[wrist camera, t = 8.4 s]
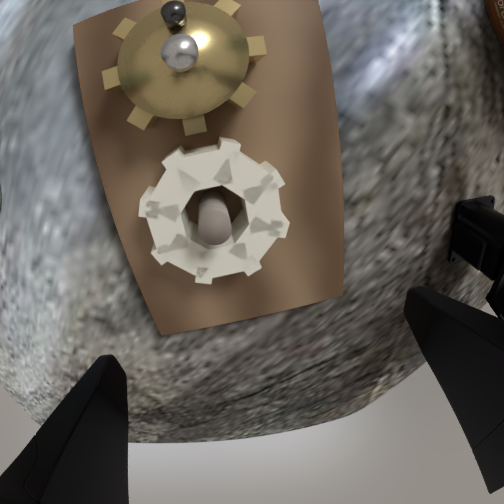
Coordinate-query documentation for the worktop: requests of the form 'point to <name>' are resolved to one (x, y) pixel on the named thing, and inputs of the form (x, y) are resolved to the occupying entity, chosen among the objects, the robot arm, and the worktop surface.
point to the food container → (496, 16)
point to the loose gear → (243, 227)
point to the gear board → (252, 145)
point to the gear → (183, 63)
